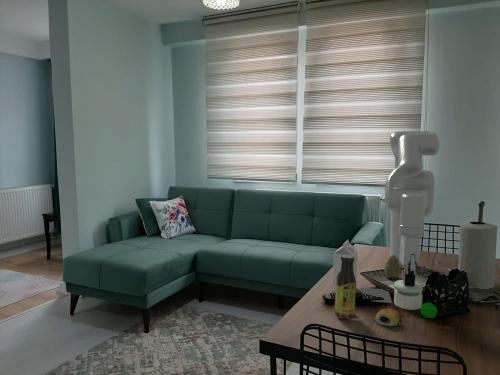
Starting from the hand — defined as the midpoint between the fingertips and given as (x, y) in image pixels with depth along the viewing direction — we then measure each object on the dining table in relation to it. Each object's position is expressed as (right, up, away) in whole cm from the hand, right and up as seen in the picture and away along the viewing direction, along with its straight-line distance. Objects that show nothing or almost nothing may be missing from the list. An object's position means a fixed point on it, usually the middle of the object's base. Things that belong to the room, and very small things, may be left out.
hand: (408, 282), depth 137 cm
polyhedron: (+3, -10, -8) cm, 13 cm away
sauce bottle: (-23, -9, -6) cm, 26 cm away
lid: (0, -2, 0) cm, 2 cm away
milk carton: (-19, -7, +14) cm, 24 cm away
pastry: (-10, -10, -9) cm, 17 cm away
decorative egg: (+3, -5, +26) cm, 26 cm away
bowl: (0, -8, +1) cm, 8 cm away
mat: (-9, -7, +9) cm, 14 cm away
